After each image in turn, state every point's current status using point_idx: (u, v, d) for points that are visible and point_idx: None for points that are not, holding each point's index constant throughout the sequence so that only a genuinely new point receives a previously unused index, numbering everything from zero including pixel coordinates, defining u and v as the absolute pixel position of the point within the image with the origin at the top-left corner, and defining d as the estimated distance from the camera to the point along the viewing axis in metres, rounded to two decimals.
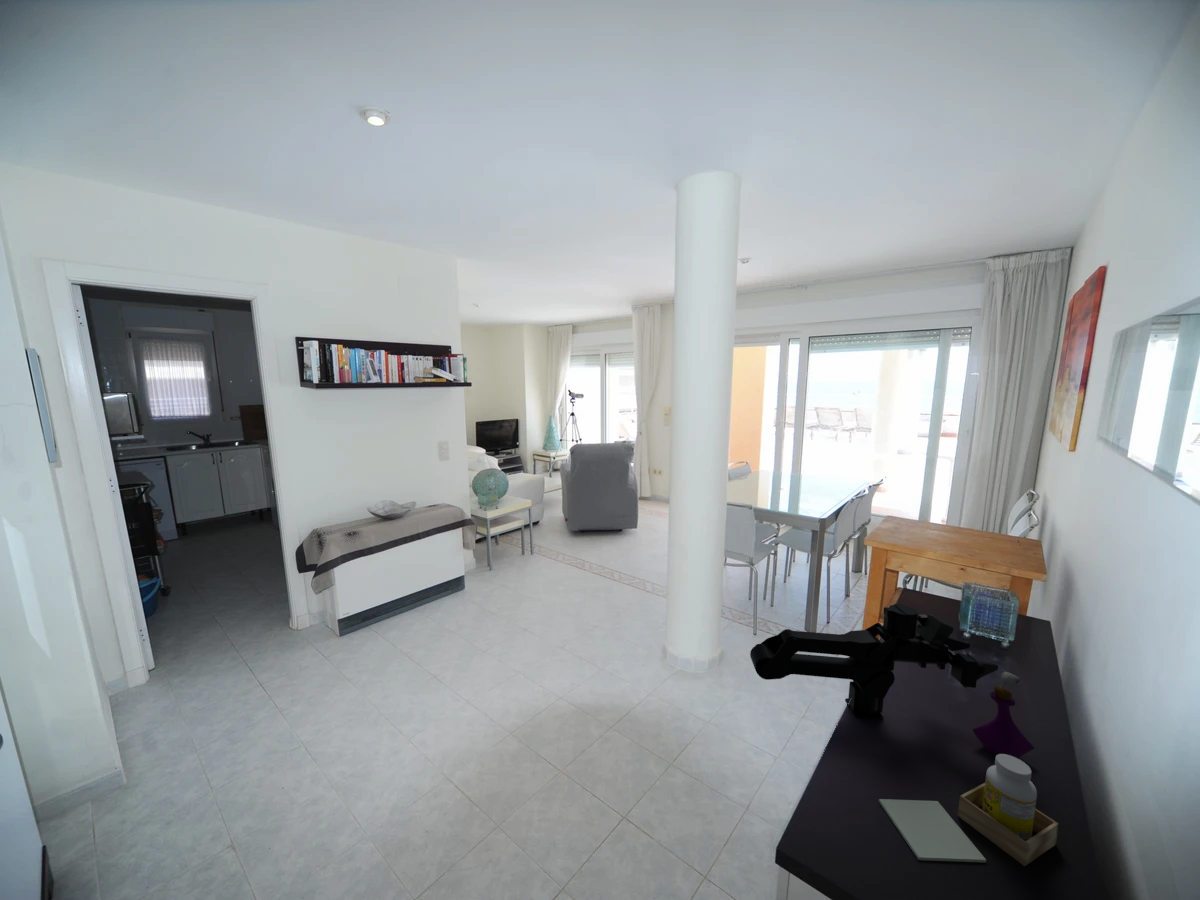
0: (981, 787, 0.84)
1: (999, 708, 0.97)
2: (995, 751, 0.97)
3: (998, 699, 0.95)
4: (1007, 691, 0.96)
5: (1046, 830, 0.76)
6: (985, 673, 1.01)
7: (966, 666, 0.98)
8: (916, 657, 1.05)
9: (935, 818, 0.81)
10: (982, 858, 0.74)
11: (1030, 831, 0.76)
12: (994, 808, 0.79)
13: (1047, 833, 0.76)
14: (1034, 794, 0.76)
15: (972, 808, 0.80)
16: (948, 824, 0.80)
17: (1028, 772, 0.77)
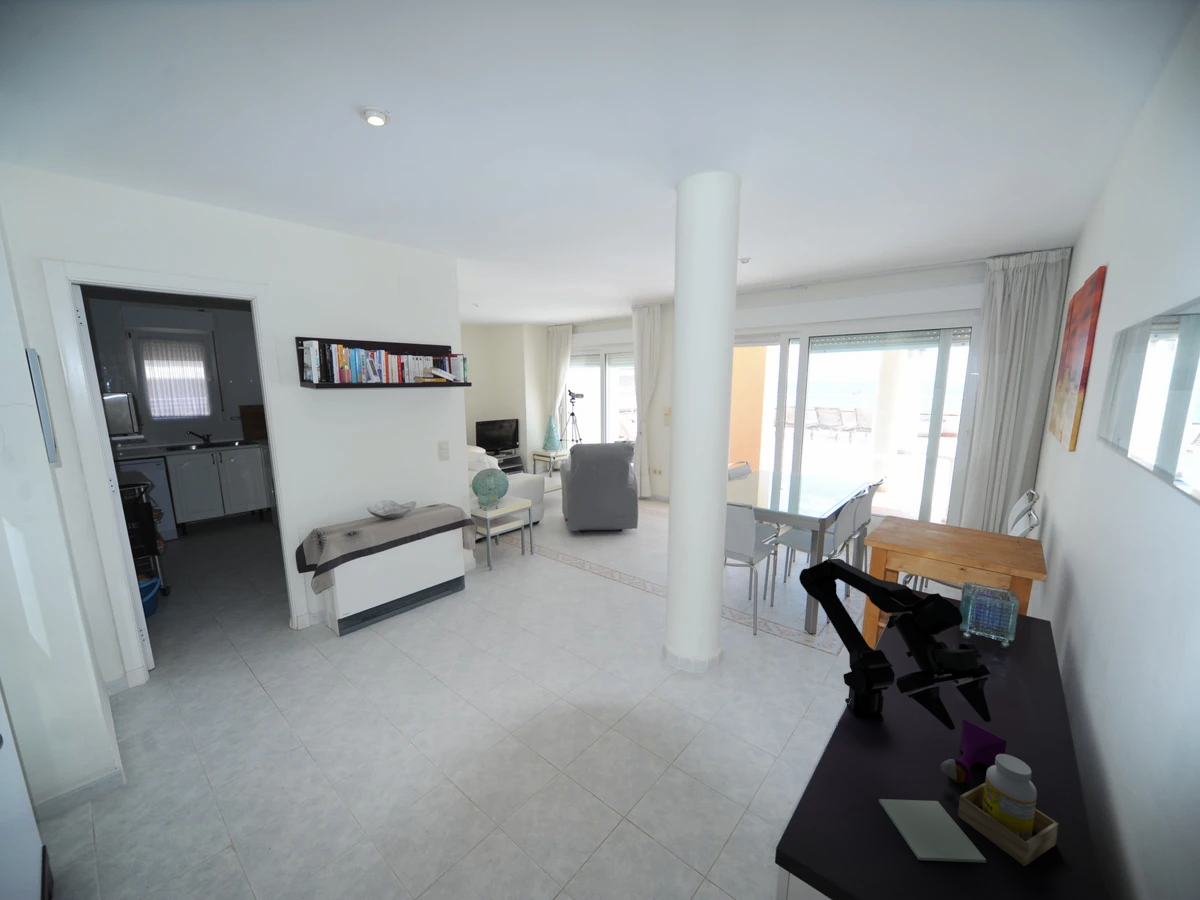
0: (981, 787, 0.84)
1: None
2: None
3: None
4: (958, 775, 0.89)
5: (1046, 830, 0.76)
6: (933, 713, 0.88)
7: (911, 675, 0.88)
8: (908, 641, 0.96)
9: (935, 818, 0.81)
10: (982, 858, 0.74)
11: (1030, 831, 0.76)
12: (994, 808, 0.79)
13: (1047, 833, 0.76)
14: (1034, 794, 0.76)
15: (972, 808, 0.80)
16: (948, 824, 0.80)
17: (1028, 772, 0.77)
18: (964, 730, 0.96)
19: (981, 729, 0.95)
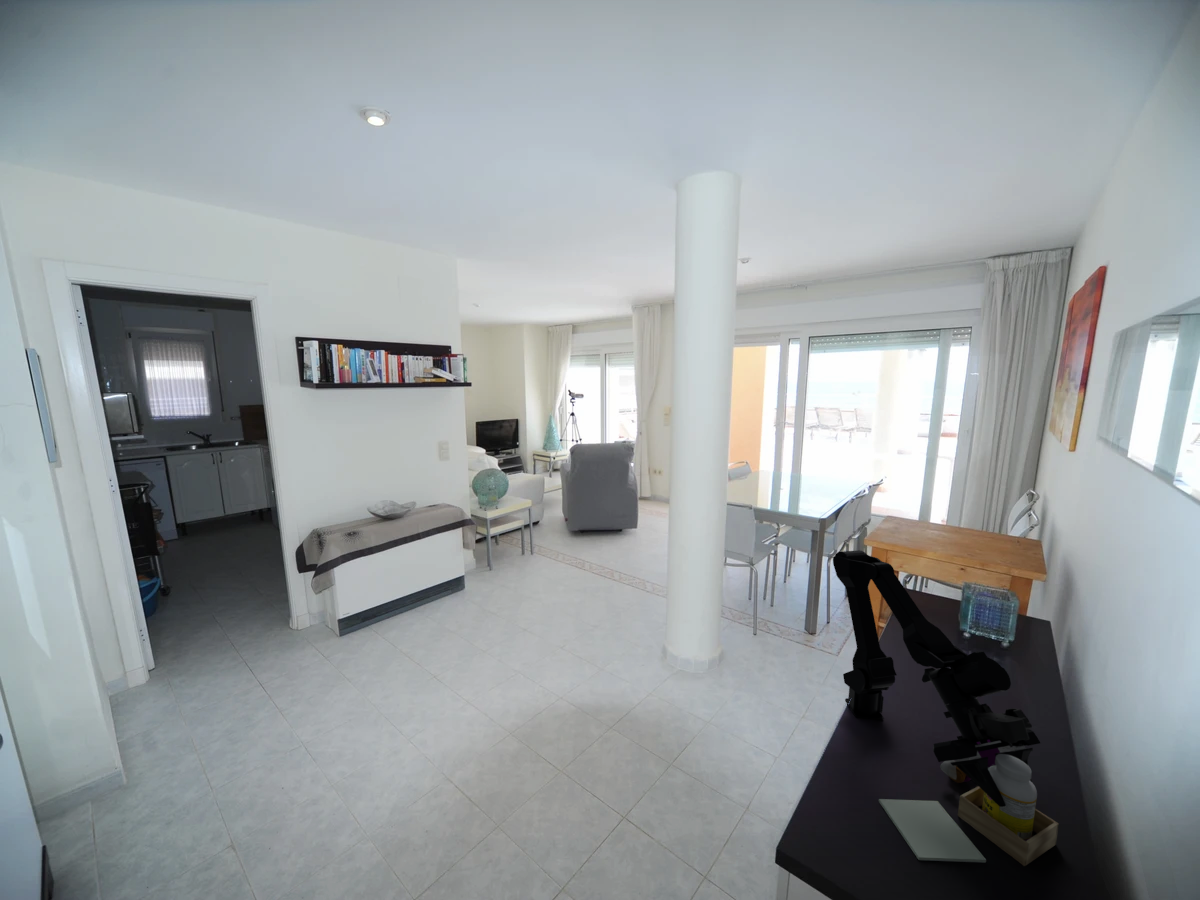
0: None
1: None
2: None
3: None
4: (958, 775, 0.89)
5: (1046, 830, 0.76)
6: (980, 785, 0.80)
7: (951, 744, 0.80)
8: (947, 701, 0.87)
9: (935, 818, 0.81)
10: (982, 858, 0.74)
11: (1030, 831, 0.76)
12: (994, 808, 0.79)
13: (1047, 833, 0.76)
14: (1034, 794, 0.76)
15: (972, 808, 0.80)
16: (948, 824, 0.80)
17: (1028, 772, 0.77)
18: None
19: None
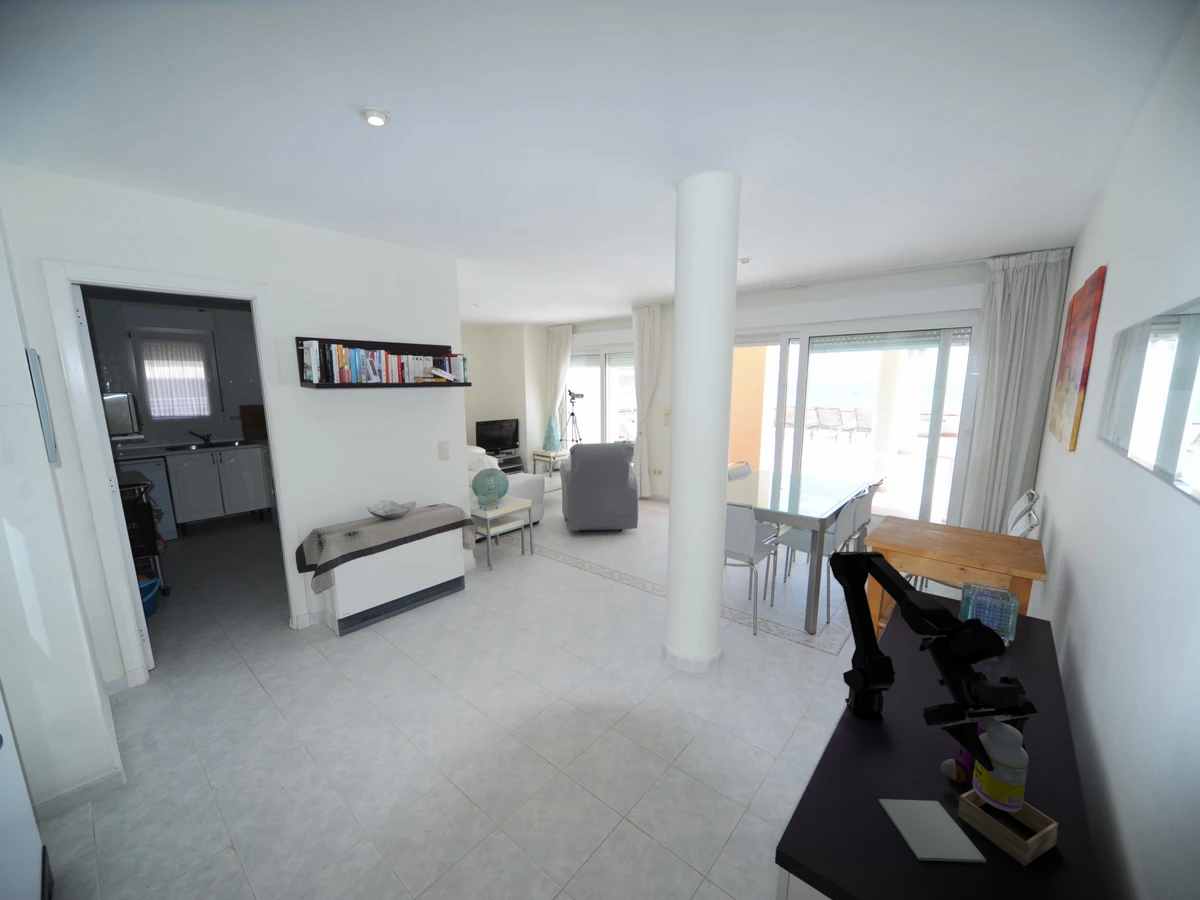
0: None
1: None
2: None
3: None
4: (958, 775, 0.89)
5: (1046, 830, 0.76)
6: (969, 750, 0.79)
7: (939, 708, 0.80)
8: (941, 668, 0.86)
9: (935, 818, 0.81)
10: (982, 858, 0.74)
11: (1020, 797, 0.75)
12: (983, 773, 0.78)
13: (1047, 833, 0.76)
14: (1025, 760, 0.75)
15: (972, 808, 0.80)
16: (948, 824, 0.80)
17: (1019, 738, 0.76)
18: None
19: (981, 729, 0.95)
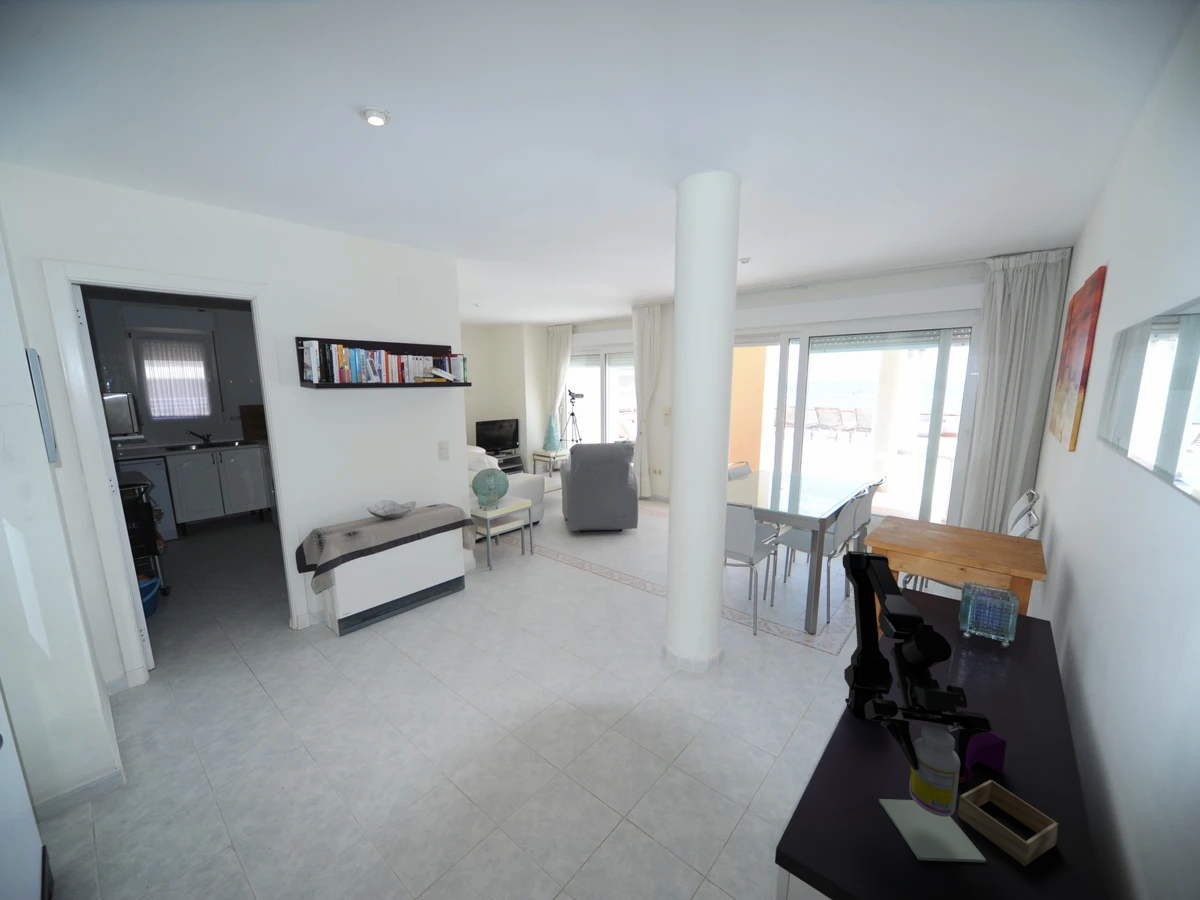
0: (981, 787, 0.84)
1: None
2: None
3: None
4: None
5: (1046, 830, 0.76)
6: (902, 748, 0.81)
7: (872, 701, 0.83)
8: (897, 670, 0.88)
9: (935, 818, 0.81)
10: (982, 858, 0.74)
11: (945, 803, 0.76)
12: (913, 773, 0.79)
13: (1047, 833, 0.76)
14: (950, 766, 0.75)
15: (972, 808, 0.80)
16: (948, 824, 0.80)
17: (947, 743, 0.76)
18: None
19: None
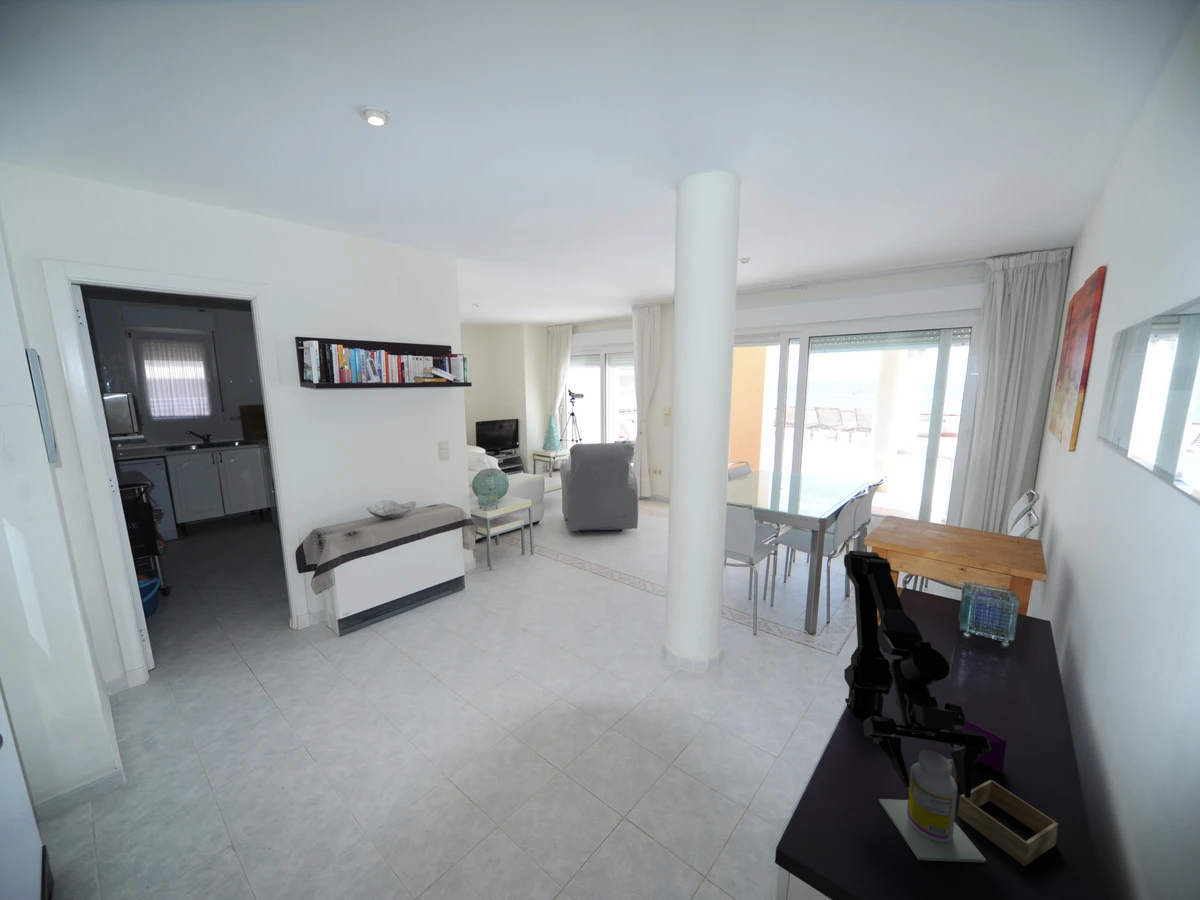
0: (981, 787, 0.84)
1: None
2: None
3: None
4: None
5: (1046, 830, 0.76)
6: (893, 765, 0.81)
7: (871, 718, 0.83)
8: (895, 687, 0.88)
9: None
10: (982, 858, 0.74)
11: (943, 828, 0.76)
12: (910, 797, 0.80)
13: (1047, 833, 0.76)
14: (947, 791, 0.76)
15: (972, 808, 0.80)
16: None
17: (944, 769, 0.76)
18: None
19: (981, 729, 0.95)
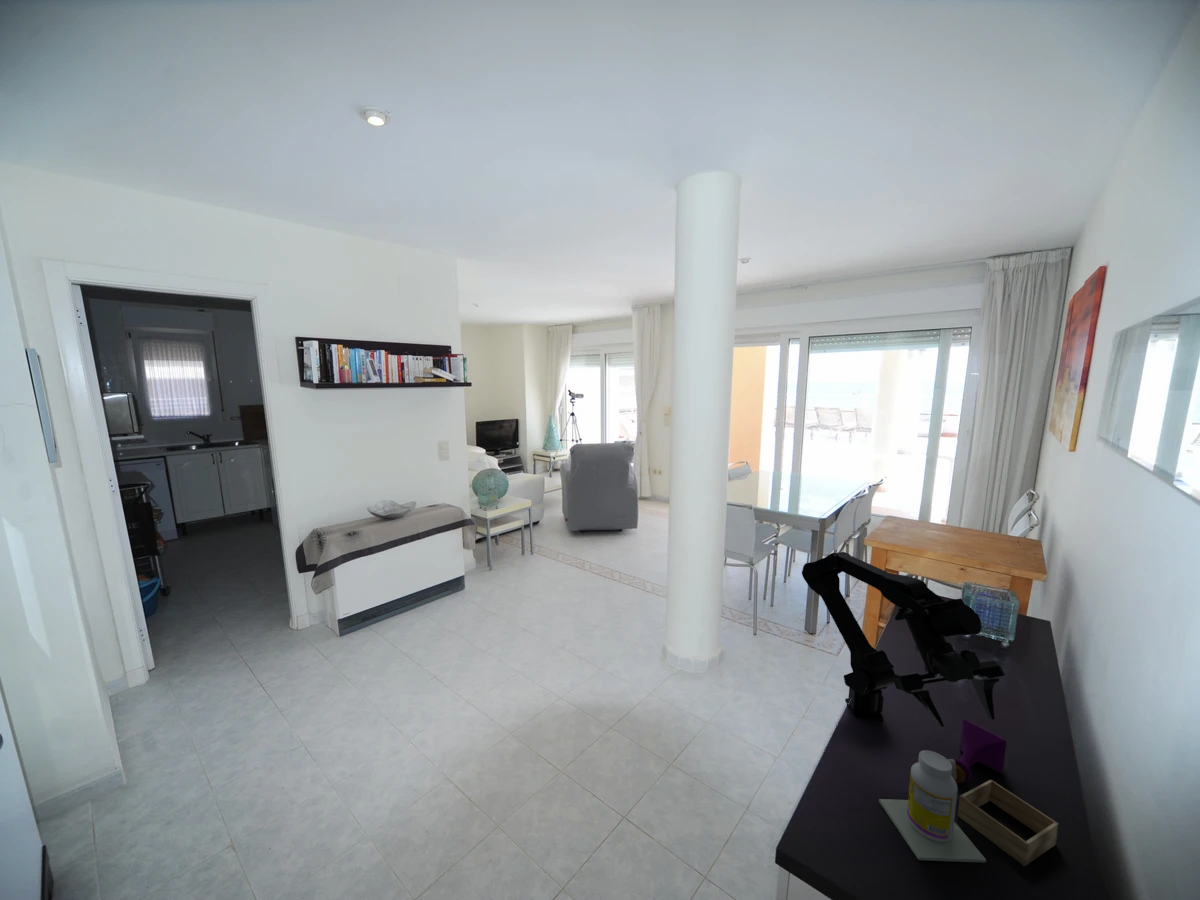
0: (981, 787, 0.84)
1: None
2: None
3: None
4: (958, 775, 0.89)
5: (1046, 830, 0.76)
6: (926, 709, 0.92)
7: (900, 679, 0.93)
8: (918, 638, 0.95)
9: None
10: (982, 858, 0.74)
11: (943, 828, 0.76)
12: (910, 797, 0.80)
13: (1047, 833, 0.76)
14: (947, 792, 0.75)
15: (972, 808, 0.80)
16: None
17: (944, 769, 0.76)
18: (964, 730, 0.96)
19: (981, 729, 0.95)
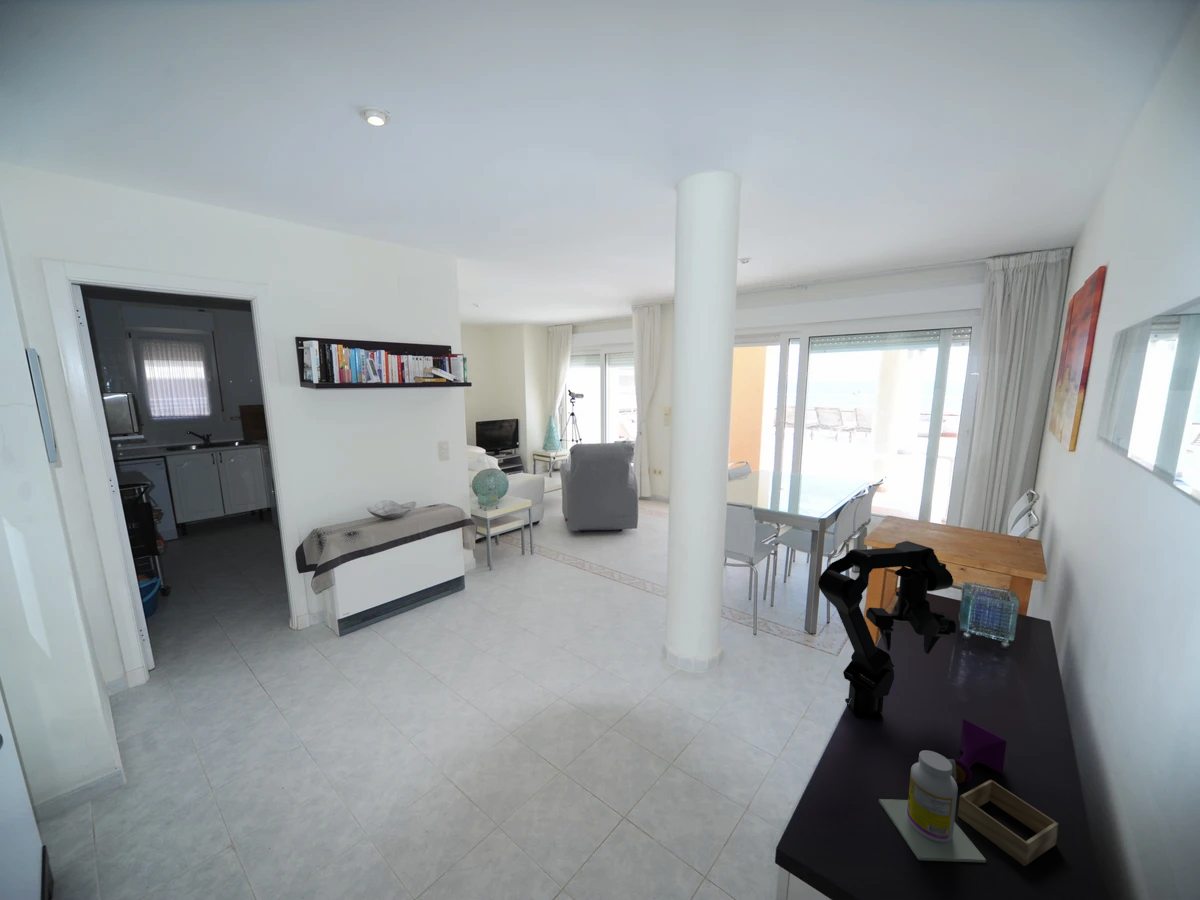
0: (981, 787, 0.84)
1: None
2: None
3: None
4: (958, 775, 0.89)
5: (1046, 830, 0.76)
6: (882, 635, 1.15)
7: (875, 616, 1.12)
8: (923, 595, 1.10)
9: None
10: (982, 858, 0.74)
11: (943, 828, 0.76)
12: (911, 797, 0.80)
13: (1047, 833, 0.76)
14: (947, 792, 0.75)
15: (972, 808, 0.80)
16: None
17: (945, 769, 0.76)
18: (964, 730, 0.96)
19: (981, 729, 0.95)
